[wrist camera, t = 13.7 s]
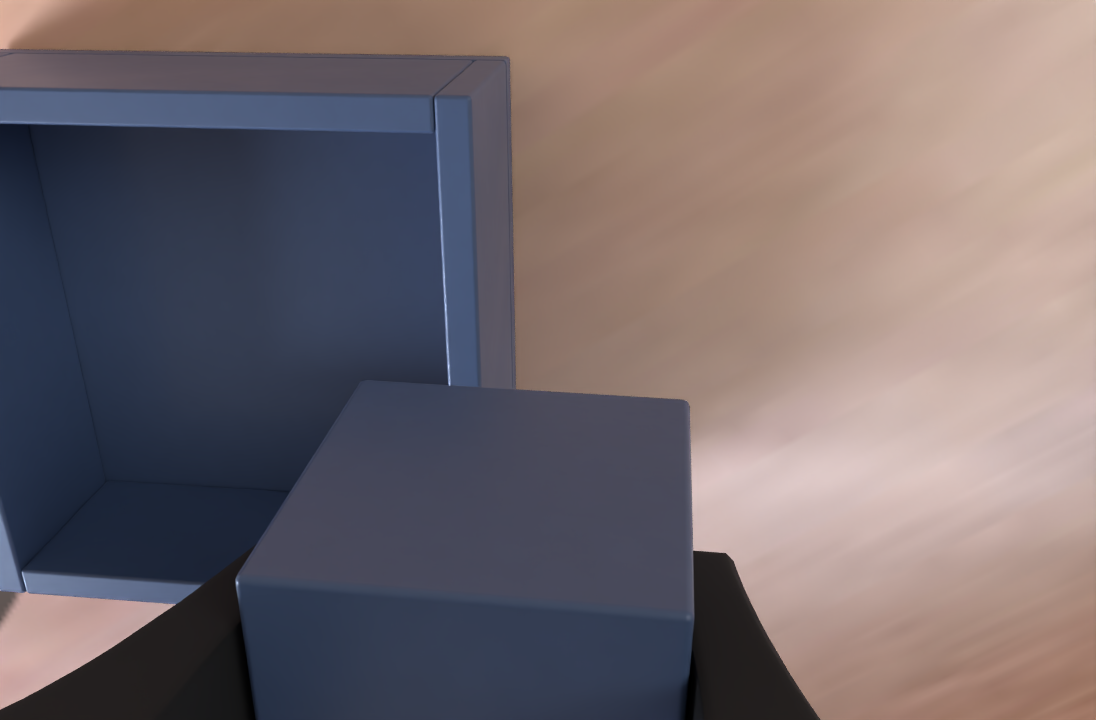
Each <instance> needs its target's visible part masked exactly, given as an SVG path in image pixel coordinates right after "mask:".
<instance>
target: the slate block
mask: <svg viewBox="0 0 1096 720" xmlns="http://www.w3.org/2000/svg"><path fill="white" fill-rule="evenodd" d="M236 590H237V597H238V603H239V610H240V617H241V624H242V631H243V637H244V644H245V651H246V658H247V665H248V671H249V678H250V685H251V692H252V698H253V705H254V712H255V719H256V720H685V718H686V707H687V696H688V685H689V674H690V663H691V652H692V640H693V629H694V618H695V617H694V572H693V527H692V482H691V437H690V406H689V403H688V402H687V401H685V400H680V399H664V398H648V397H632V396H616V395H600V394H583V393H567V392H551V391H535V390H519V389H503V388H486V387H470V386H454V385H438V384H422V383H406V382H389V381H373V380H365V381H361V382H360V383H359V385H358V387H357V388H356V390H355V391H354V393H353V394H352V396H351V397H350V399H349V401H348V402H347V404H346V405H345V407H344V408H343V410H342V412H341V413H340V415H339V416H338V418H337V419H336V421H335V423H334V424H333V426H332V427H331V429H330V430H329V432H328V434H327V435H326V437H325V438H324V440H323V441H322V443H321V444H320V446H319V448H318V449H317V451H316V452H315V454H314V455H313V457H312V459H311V460H310V462H309V463H308V465H307V466H306V468H305V470H304V471H303V473H302V474H301V476H300V477H299V479H298V481H297V482H296V484H295V485H294V487H293V488H292V490H291V491H290V493H289V495H288V496H287V498H286V499H285V501H284V502H283V504H282V506H281V507H280V509H279V510H278V512H277V513H276V515H275V517H274V518H273V520H272V521H271V523H270V524H269V526H268V527H267V529H266V531H265V532H264V534H263V535H262V537H261V538H260V540H259V542H258V543H257V545H256V546H255V548H254V549H253V551H252V553H251V554H250V556H249V557H248V559H247V560H246V562H245V564H244V565H243V567H242V568H241V570H240V571H239V573H238V574H237V577H236Z"/></svg>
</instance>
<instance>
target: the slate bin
mask: <svg viewBox="0 0 1096 720" xmlns="http://www.w3.org/2000/svg"><path fill="white" fill-rule="evenodd" d="M365 380H373V381H389V382H406V383H422V384H438V385H454V386H470V387H486V388H503V389H516V363H515V309H514V255H513V202H512V148H511V94H510V59H509V57H507V56H447V55H377V54H308V53H238V52H169V51H99V50H30V49H0V591H7V592H19V593H24V592H26V591H27V592H28V593H33V594H46V595H60V596H73V597H87V598H100V599H114V600H127V601H140V602H154V603H167V604H177V603H179V602H180V601H182V600H183V599H184V598H186V597H187V596H188V595H190V594H191V593H192V592H194V591H195V590H196V589H198V588H199V587H200V586H202V585H203V584H204V583H206V582H207V581H208V580H210V579H211V578H212V577H214V576H215V575H216V574H218V573H219V572H220V571H222V570H223V569H224V568H226V567H227V566H228V565H230V564H231V563H232V562H234V561H235V560H236V559H237V558H239V557H240V556H241V555H243V554H244V553H245V552H246V551H248V550H249V549H250V548H252V547H253V546H254V545H256V544H257V543H258V542H259V540H260V538H261V537H262V535H263V534H264V532H265V531H266V529H267V527H268V526H269V524H270V523H271V521H272V520H273V518H274V517H275V515H276V513H277V512H278V510H279V509H280V507H281V506H282V504H283V502H284V501H285V499H286V498H287V496H288V495H289V493H290V491H291V490H292V488H293V487H294V485H295V484H296V482H297V481H298V479H299V477H300V476H301V474H302V473H303V471H304V470H305V468H306V466H307V465H308V463H309V462H310V460H311V459H312V457H313V455H314V454H315V452H316V451H317V449H318V448H319V446H320V444H321V443H322V441H323V440H324V438H325V437H326V435H327V434H328V432H329V430H330V429H331V427H332V426H333V424H334V423H335V421H336V419H337V418H338V416H339V415H340V413H341V412H342V410H343V408H344V407H345V405H346V404H347V402H348V401H349V399H350V397H351V396H352V394H353V393H354V391H355V390H356V388H357V387H358V385H359V383H360V382H361V381H365Z"/></svg>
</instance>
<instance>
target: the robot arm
mask: <svg viewBox="0 0 1096 720" xmlns="http://www.w3.org/2000/svg"><path fill="white" fill-rule="evenodd" d="M256 545H257V544H256ZM256 545H254V546H253V547H252V548H250V549H249V550H248V551H246V552H245V553H244V554H243V555H241V556H240V557H239V558H237V559H236V560H235V561H234V562H232V563H231V564H230V565H228V566H227V567H226V568H224V569H223V570H222V571H220V572H219V573H218V574H216V575H215V576H214V577H212V578H211V579H210V580H208V581H207V582H206V583H204V584H203V585H202V586H200V587H199V588H198V589H196V590H195V591H194V592H192V593H191V594H190V595H188V596H187V597H186V598H184V599H183V600H182V601H180V602H179V603H177V604H176V605H175V606H173V607H172V608H170V609H169V610H167V611H166V612H164V613H163V614H161V615H160V616H158V617H157V618H155V619H154V620H152V621H151V622H149V623H148V624H147V625H145V626H144V627H142V628H141V629H139V630H138V631H136V632H135V633H133V634H132V635H130V636H129V637H127V638H126V639H124V640H123V641H121V642H120V643H119V644H117V645H116V646H114V647H112V648H111V649H109V650H108V651H106V652H104V653H103V654H101V655H100V656H98V657H96V658H95V659H93V660H91V661H90V662H88V663H86V664H85V665H83V666H81V667H80V668H78V669H76V670H75V671H73V672H71V673H69V674H67V675H66V676H64V677H62V678H60V679H59V680H57V681H55V682H53V683H51V684H50V685H48V686H46V687H44V688H42V689H41V690H39V691H37V692H35V693H33V694H31V695H29V696H28V697H26V698H24V699H22V700H20V701H18V702H16V703H13V704H11V705H9V706H7V707H5V708H3V709H1V710H0V720H256V719H255V712H254V705H253V698H252V692H251V685H250V678H249V671H248V665H247V658H246V651H245V644H244V637H243V631H242V624H241V617H240V610H239V603H238V597H237V590H236V577H237V574H238V573H239V571H240V570H241V568H242V567H243V565H244V564H245V562H246V560H247V559H248V557H249V556H250V554H251V553H252V551H253V549H254V548H255V546H256ZM693 572H694V617H695V618H694V629H693V640H692V652H691V663H690V674H689V685H688V696H687V707H686V718H685V720H820V718H819V717H818V716H817V714H816V713H815V711H814V710H813V708H812V707H811V705H810V704H809V702H808V701H807V699H806V698H805V696H804V695H803V694H802V692H801V690H800V689H799V687H798V686H797V684H796V683H795V681H794V679H793V678H792V676H791V675H790V673H789V671H788V670H787V668H786V666H785V665H784V663H783V661H782V660H781V658H780V656H779V654H778V653H777V651H776V649H775V648H774V646H773V644H772V642H771V641H770V639H769V637H768V635H767V634H766V632H765V630H764V628H763V626H762V624H761V622H760V620H759V618H758V616H757V614H756V612H755V610H754V608H753V606H752V604H751V602H750V600H749V598H748V596H747V594H746V592H745V589H744V587H743V585H742V582H741V580H740V577H739V575H738V572H737V570H736V567H735V564H734V561H733V560H732V559H731V558H730V557H729V556H728V555H727V554H726V553H716V552H703V551H693Z"/></svg>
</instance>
